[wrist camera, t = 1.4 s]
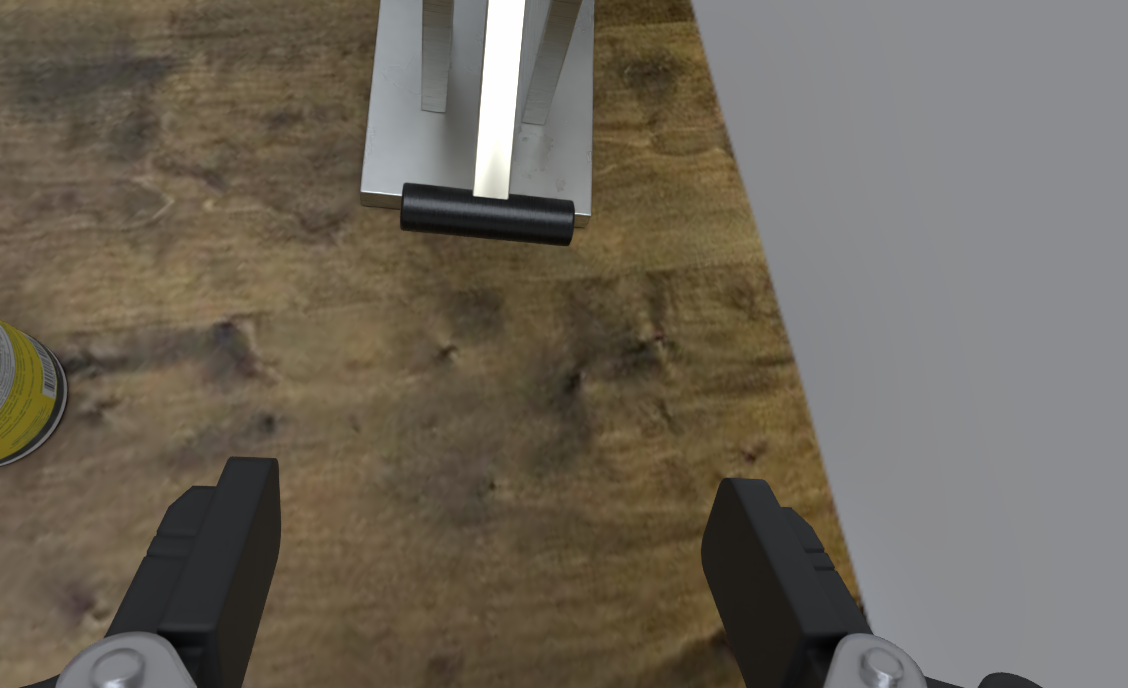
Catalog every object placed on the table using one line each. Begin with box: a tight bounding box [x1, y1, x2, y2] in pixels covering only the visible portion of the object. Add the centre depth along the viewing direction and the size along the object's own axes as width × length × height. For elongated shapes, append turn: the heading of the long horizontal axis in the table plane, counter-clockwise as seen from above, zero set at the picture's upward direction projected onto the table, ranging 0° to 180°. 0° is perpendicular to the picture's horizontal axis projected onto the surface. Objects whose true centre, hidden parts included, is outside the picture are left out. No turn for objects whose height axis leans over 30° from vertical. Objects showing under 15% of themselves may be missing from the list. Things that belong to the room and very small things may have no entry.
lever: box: [400, 0, 575, 246], centre depth 22 cm, size 12×5×2 cm, turn 179°
